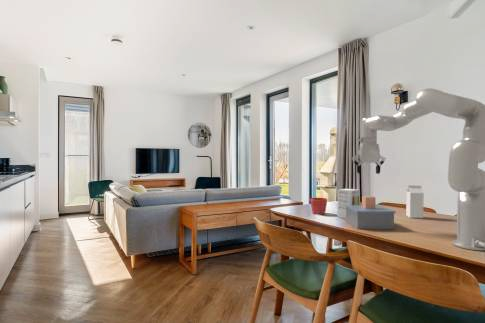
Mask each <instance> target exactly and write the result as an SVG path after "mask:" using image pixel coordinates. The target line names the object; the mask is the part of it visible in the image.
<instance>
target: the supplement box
mask: <svg viewBox="0 0 485 323" xmlns="http://www.w3.org/2000/svg"><path fill="white" fill-rule="evenodd" d="M345 205H360V189H357V188H355V189H354V188H341V189H338V190H337V218H339V219H345V220H346V207H345Z"/></svg>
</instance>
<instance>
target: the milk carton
mask: <svg viewBox="0 0 485 323" xmlns="http://www.w3.org/2000/svg"><path fill="white" fill-rule="evenodd" d="M405 193H406V194H405V195H406V196H405V197H406V200H405V201H406V204H405V205H406V206H405V207H406V208H405V209H406V212H405V213H406V214H405V216H406V217H408V218H410V219H424V190H423V188H422V185H408V186H407V189H406V192H405Z"/></svg>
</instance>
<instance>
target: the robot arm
mask: <svg viewBox="0 0 485 323" xmlns="http://www.w3.org/2000/svg"><path fill="white" fill-rule="evenodd" d="M431 113H435V114H439V115H442V116H445V117H448V118H452V119H459V120H464V122H465V123H464V126H463V129H462V139H461V140H458V141H457V142H455V143H454V144H453V145H452V147H451V148H450V150H449V158H448V167H447V168H448V170H447V181H448V185H449V187H450V188H451V189H452V190H454V191H456V192H457V202H456V203H457V206H456V208H457V210H456V215H457V216H456V239H453V240H452V243H451V244H453V245H454V246H455V247H457V248H462V249H467V250H470V251H472V250H473V251H481V252H482V251H484V252H485V170H484V169H481V168H479V164H482V163H484V162H485V104H484V103H482V102H481V101H478V100H476V99H473V98H468V97H464V96H462V95H461V96H460V95H456V94H451V93H449V92H443V91H442V90H439V89H436V88H431V87H429V88H424V89H422V90H420V91H419V92H418V93H417V94H416V97H415V98H414V99H413V100H411V101H408V102H406V103H404V105H403V110H401V111H400V112H398V113H396V114H393V115H391V116H389V115H383V114H382V115H381V114H380V115H374V116H372V117H363V118H362V119H361V130H360V131H361V136H360V138H358V142H360V144H359V146H358V147H359V148H358V152H357V155H354V156H352V157H351V160H352V163H353V164H355V166H356V172H357V174H362V166H361V164H363V163H369V164H370V163H374V164H375V165H376V166H375V174H377V175H378V174H379V175H380V173H381V167H382V165H383V164H384V163H385V161H386V159H387V158H386V157H384V156H383V155H381V150H380V144H379V143H378V142H377V141H378V139H377V136H378V133H377V132H378V131H382V132H383V131H384V132H392V131H395V130H398V129H401V128H403V127H405V126H407V125H409V124H410V123H412V122H413V121H414V120H416V119H418V118H421V117H423V116H426V115H429V114H431ZM357 160H358V161H357Z"/></svg>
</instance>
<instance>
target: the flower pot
mask: <svg viewBox="0 0 485 323" xmlns="http://www.w3.org/2000/svg"><path fill="white" fill-rule="evenodd" d="M309 202H310V207H311V214H313V215H316V214H318V216H323V215H325V214H326V211H327V210H326V209H327V205H328V204H327V203H328V198H327V197H326V198H325V197H311V198H310V199H309Z"/></svg>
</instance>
